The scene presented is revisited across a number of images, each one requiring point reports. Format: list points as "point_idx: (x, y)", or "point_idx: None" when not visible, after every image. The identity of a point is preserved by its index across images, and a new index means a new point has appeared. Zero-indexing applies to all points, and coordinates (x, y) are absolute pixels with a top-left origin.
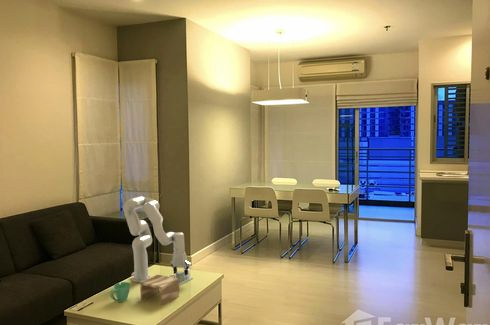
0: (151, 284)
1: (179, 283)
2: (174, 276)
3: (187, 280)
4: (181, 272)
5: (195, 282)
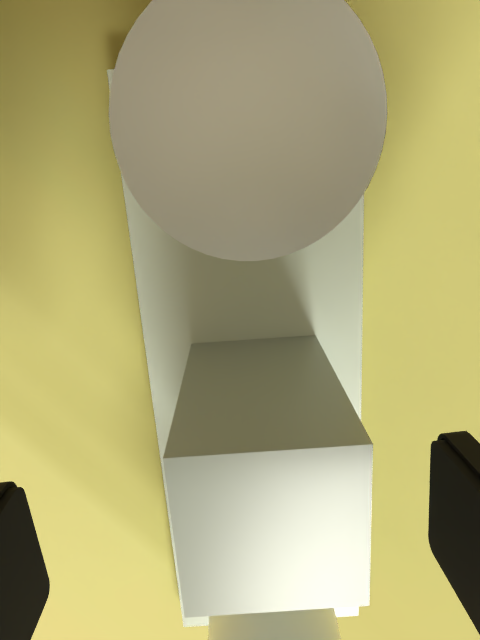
0: None
1: (166, 295)
2: (156, 158)
3: (168, 500)
4: (223, 565)
5: None
